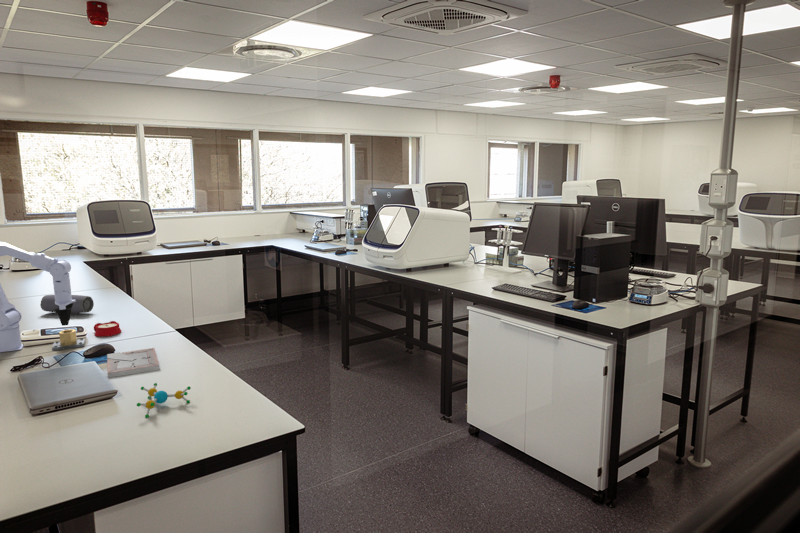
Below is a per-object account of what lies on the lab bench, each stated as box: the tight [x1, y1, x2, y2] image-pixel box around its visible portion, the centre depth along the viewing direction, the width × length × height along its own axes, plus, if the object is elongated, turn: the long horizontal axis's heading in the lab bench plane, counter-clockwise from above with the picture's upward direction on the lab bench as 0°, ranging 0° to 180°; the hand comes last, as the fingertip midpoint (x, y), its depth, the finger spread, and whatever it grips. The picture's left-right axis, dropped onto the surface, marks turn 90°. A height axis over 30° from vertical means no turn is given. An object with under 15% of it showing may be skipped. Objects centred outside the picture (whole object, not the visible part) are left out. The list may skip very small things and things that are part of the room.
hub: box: [58, 328, 78, 345], centre depth 212 cm, size 6×6×5 cm
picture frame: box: [106, 347, 160, 378], centre depth 192 cm, size 16×2×22 cm
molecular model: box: [136, 382, 192, 418], centre depth 158 cm, size 16×5×15 cm
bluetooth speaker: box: [40, 294, 95, 316], centre depth 261 cm, size 23×9×10 cm, turn 84°
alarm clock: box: [93, 320, 122, 338], centre depth 230 cm, size 10×6×15 cm
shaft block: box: [51, 337, 86, 351], centre depth 212 cm, size 11×8×5 cm
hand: (66, 322), depth 211 cm, fingers open, 7 cm apart
